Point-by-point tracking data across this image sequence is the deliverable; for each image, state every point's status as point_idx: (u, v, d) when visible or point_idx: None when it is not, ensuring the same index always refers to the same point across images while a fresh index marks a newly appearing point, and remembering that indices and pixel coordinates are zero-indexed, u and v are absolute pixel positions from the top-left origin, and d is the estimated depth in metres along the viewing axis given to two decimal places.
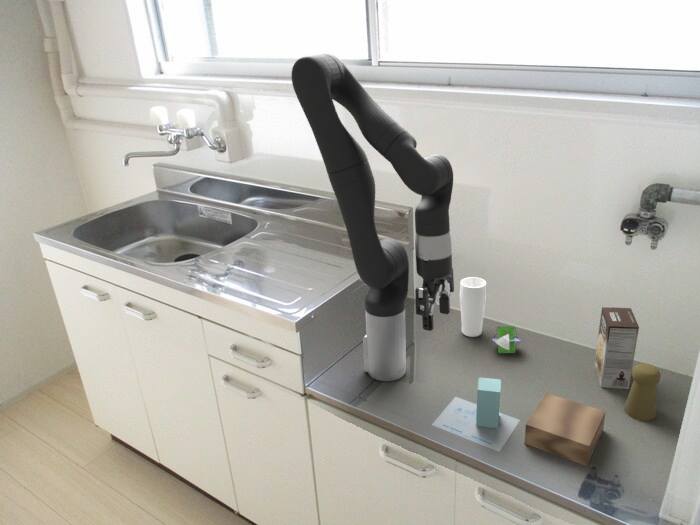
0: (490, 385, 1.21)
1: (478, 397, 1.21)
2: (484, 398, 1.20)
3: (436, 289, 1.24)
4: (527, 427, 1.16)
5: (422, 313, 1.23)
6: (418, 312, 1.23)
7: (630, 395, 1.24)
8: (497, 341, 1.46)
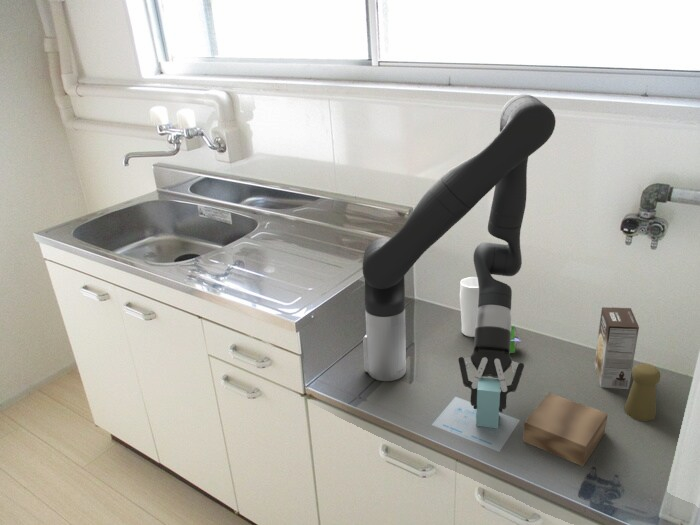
0: (490, 385, 1.21)
1: (478, 397, 1.21)
2: (484, 397, 1.20)
3: None
4: (526, 425, 1.17)
5: (515, 389, 1.22)
6: None
7: (630, 395, 1.24)
8: None
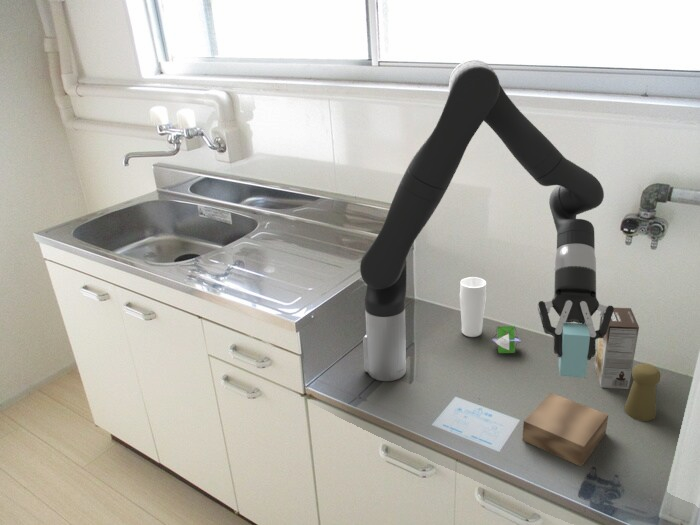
0: (577, 330, 1.09)
1: (564, 343, 1.09)
2: (571, 343, 1.08)
3: None
4: (525, 424, 1.17)
5: (604, 334, 1.10)
6: None
7: (630, 395, 1.24)
8: (497, 341, 1.46)
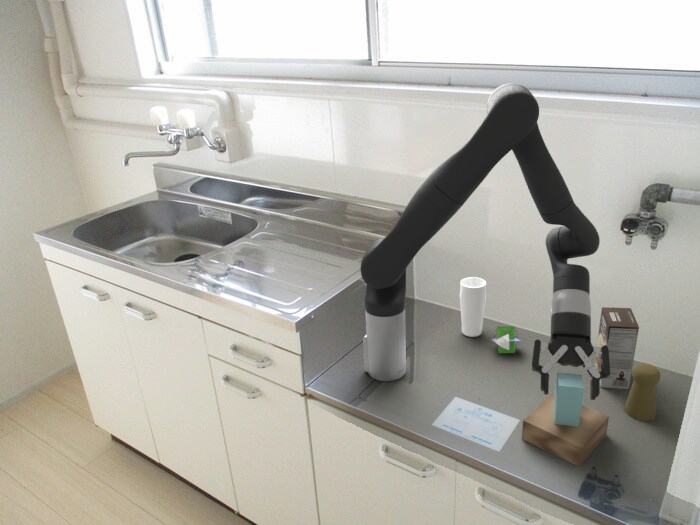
0: (571, 381, 1.13)
1: (559, 394, 1.13)
2: (566, 394, 1.13)
3: None
4: (524, 423, 1.17)
5: None
6: None
7: (630, 395, 1.24)
8: (497, 341, 1.46)
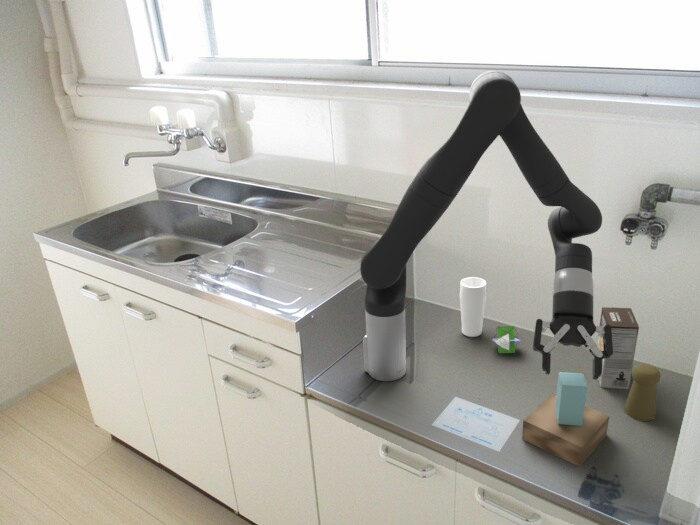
0: (574, 380, 1.13)
1: (562, 393, 1.13)
2: (569, 393, 1.13)
3: None
4: (524, 423, 1.17)
5: None
6: None
7: (630, 395, 1.24)
8: (497, 341, 1.46)
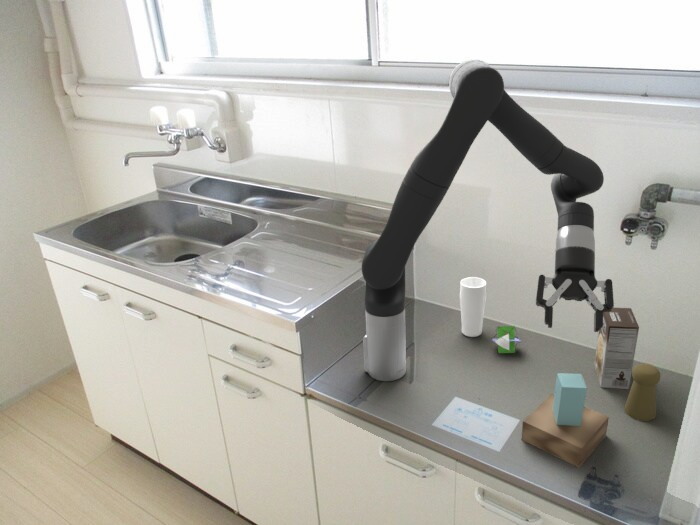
0: (573, 381, 1.13)
1: (562, 395, 1.13)
2: (568, 395, 1.12)
3: None
4: (524, 424, 1.17)
5: None
6: None
7: (630, 395, 1.24)
8: (497, 341, 1.46)
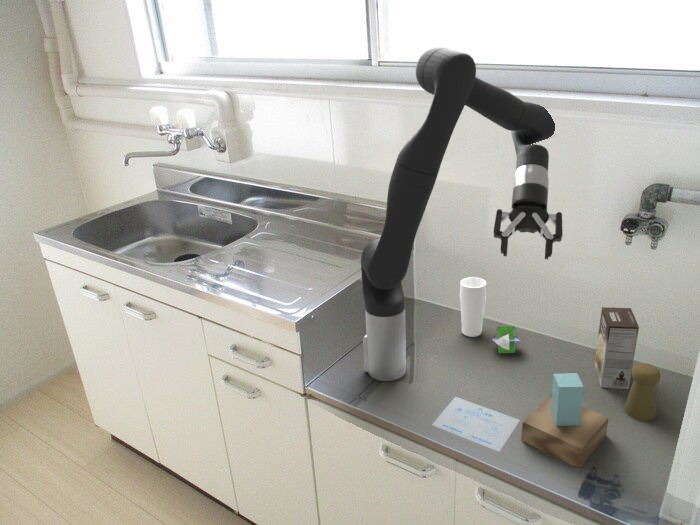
0: (569, 381, 1.13)
1: (559, 395, 1.13)
2: (566, 395, 1.12)
3: None
4: (524, 425, 1.17)
5: None
6: None
7: (630, 395, 1.24)
8: (497, 341, 1.46)
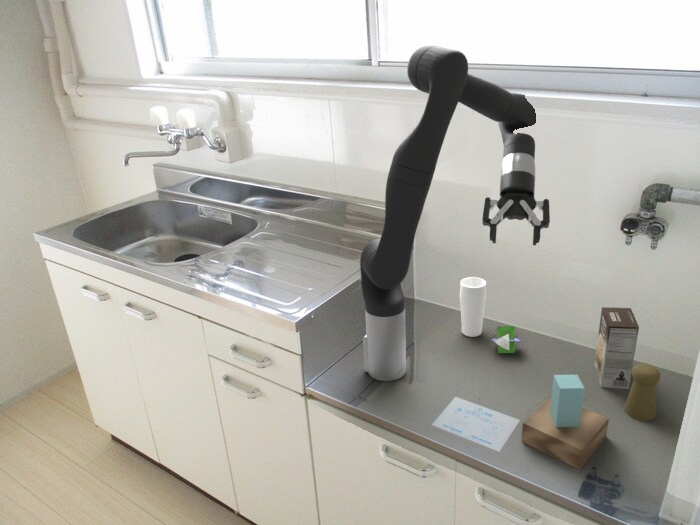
0: (570, 382, 1.13)
1: (560, 397, 1.12)
2: (567, 396, 1.12)
3: None
4: (524, 426, 1.17)
5: (548, 223, 1.29)
6: None
7: (630, 395, 1.24)
8: (497, 341, 1.46)
